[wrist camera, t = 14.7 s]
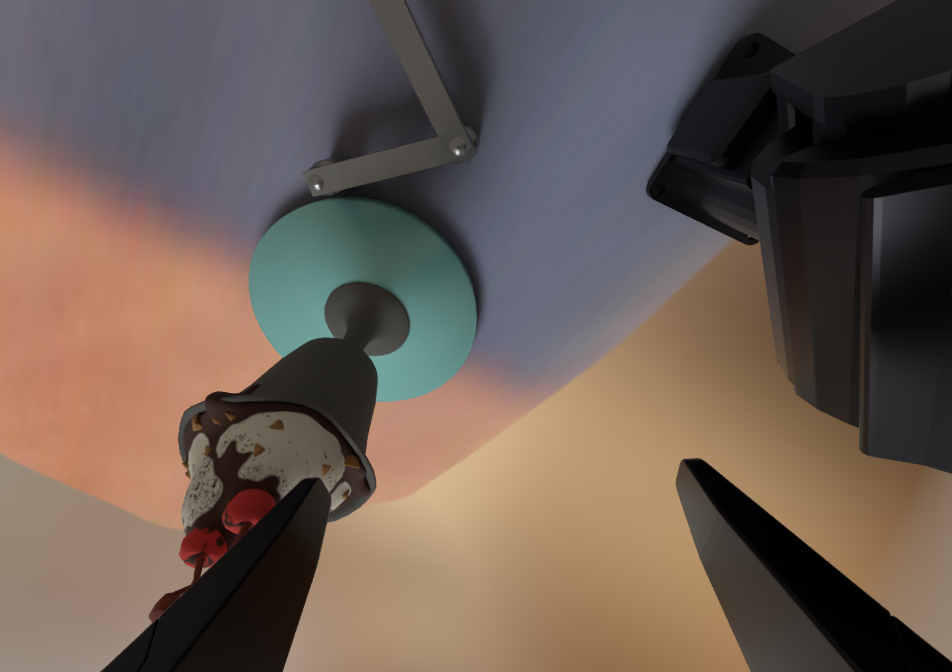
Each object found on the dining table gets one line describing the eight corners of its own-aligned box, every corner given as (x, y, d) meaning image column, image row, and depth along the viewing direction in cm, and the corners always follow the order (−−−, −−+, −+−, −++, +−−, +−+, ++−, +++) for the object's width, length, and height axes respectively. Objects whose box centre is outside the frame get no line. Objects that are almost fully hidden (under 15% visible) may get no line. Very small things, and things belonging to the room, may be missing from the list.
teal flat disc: (514, 255, 19) (515, 261, 18) (436, 413, 26) (434, 424, 25) (268, 151, 17) (256, 153, 16) (252, 354, 24) (243, 363, 23)
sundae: (402, 253, 18) (196, 571, 6) (437, 357, 22) (358, 696, 9) (288, 277, 19) (-100, 591, 7) (339, 372, 23) (146, 697, 10)
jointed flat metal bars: (534, -8, 14) (543, -36, 11) (446, 231, 19) (439, 250, 16) (343, -115, 12) (302, -176, 10) (305, 171, 17) (271, 182, 15)
